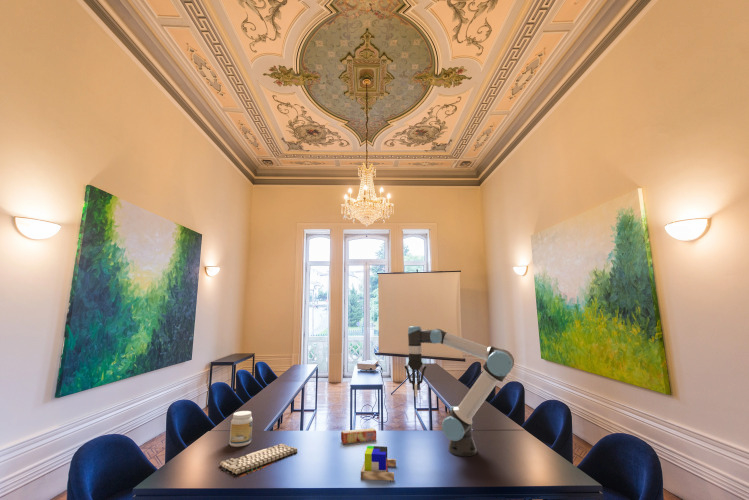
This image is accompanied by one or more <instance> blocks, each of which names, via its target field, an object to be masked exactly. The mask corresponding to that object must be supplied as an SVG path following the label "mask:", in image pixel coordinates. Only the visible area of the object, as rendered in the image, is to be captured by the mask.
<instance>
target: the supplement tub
mask: <svg viewBox="0 0 749 500" xmlns="http://www.w3.org/2000/svg"><path fill="white" fill-rule="evenodd" d="M252 433H253V417H252V411H251V410H240V411H235V412H234V413H233V414H232V419H231V421H230V432H229V445H230V446H231V447H236V448H239V447H244V446H247V445H249V444H250V443H251V442H252Z"/></svg>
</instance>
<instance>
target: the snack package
mask: <svg viewBox="0 0 749 500" xmlns="http://www.w3.org/2000/svg"><path fill="white" fill-rule="evenodd" d="M340 440H341V443H342V444H343V445H347V444H348V445H349V444H354V443H364V441H365V442H374V441H373V440H375V441H376V440H377V431H376V429H375V428H373V427H372V428H360V429H351V430H342V431H341V432H340Z"/></svg>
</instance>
